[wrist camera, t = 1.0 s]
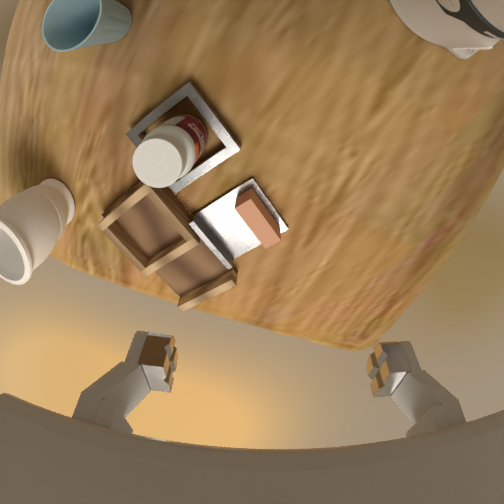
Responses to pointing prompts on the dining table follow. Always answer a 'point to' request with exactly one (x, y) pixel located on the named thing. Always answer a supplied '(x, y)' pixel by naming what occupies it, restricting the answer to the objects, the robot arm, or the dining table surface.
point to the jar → (32, 228)
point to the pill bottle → (170, 151)
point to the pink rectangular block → (258, 218)
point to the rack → (166, 244)
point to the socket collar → (210, 116)
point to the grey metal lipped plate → (230, 224)
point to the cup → (84, 23)
